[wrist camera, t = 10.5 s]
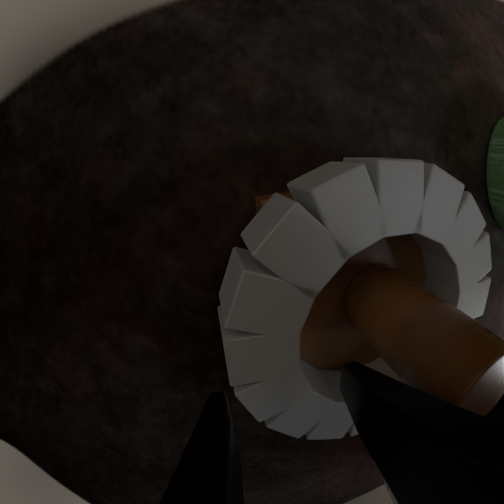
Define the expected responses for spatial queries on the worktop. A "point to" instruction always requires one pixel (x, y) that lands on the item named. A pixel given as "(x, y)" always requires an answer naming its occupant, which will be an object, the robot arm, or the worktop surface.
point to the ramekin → (496, 172)
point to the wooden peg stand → (401, 326)
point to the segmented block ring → (326, 266)
